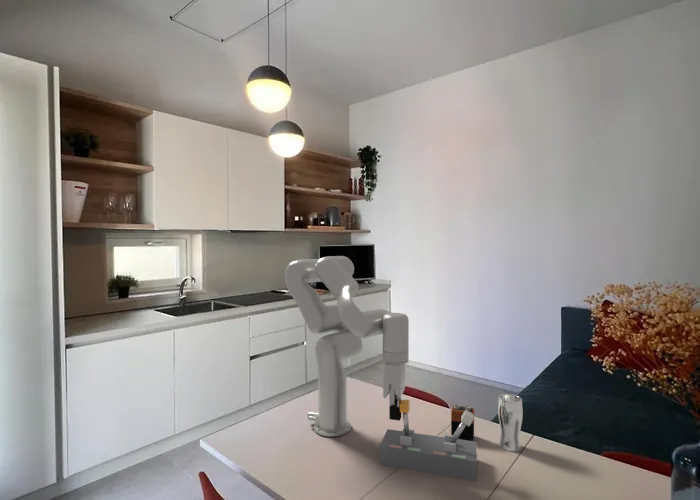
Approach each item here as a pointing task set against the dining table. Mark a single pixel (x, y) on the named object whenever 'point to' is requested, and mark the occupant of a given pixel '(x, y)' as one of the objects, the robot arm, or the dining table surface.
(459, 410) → the battery
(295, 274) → the robot arm
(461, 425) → the on lever
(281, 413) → the dining table surface
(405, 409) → the orange lever
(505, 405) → the beer glass
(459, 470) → the switch box
